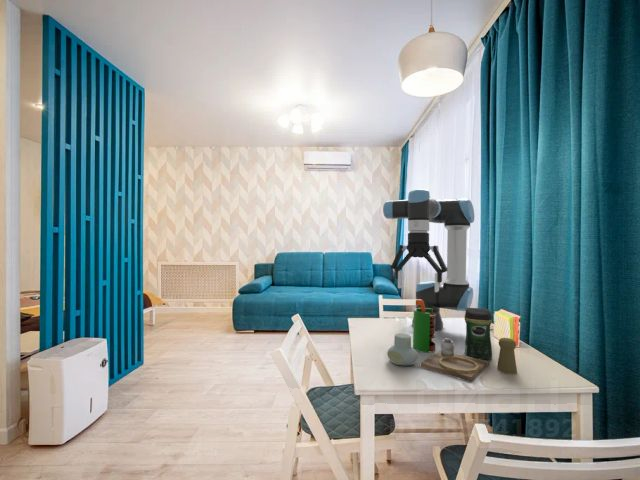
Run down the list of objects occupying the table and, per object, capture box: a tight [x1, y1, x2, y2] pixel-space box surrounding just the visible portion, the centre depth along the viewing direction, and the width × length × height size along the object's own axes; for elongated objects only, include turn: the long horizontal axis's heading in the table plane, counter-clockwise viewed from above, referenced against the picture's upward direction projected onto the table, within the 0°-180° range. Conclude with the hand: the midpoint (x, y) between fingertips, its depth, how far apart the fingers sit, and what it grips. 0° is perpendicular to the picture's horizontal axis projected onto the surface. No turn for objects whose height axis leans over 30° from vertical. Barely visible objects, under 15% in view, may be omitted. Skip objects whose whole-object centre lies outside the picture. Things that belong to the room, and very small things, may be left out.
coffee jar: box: [463, 307, 493, 361], centre depth 123 cm, size 10×8×19 cm
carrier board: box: [420, 337, 489, 383], centre depth 113 cm, size 18×17×8 cm
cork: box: [496, 337, 518, 375], centre depth 110 cm, size 6×6×11 cm
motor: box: [412, 298, 437, 353], centre depth 132 cm, size 10×9×20 cm
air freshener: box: [386, 332, 419, 367], centre depth 116 cm, size 11×8×10 cm
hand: (417, 289), depth 117 cm, fingers open, 13 cm apart
